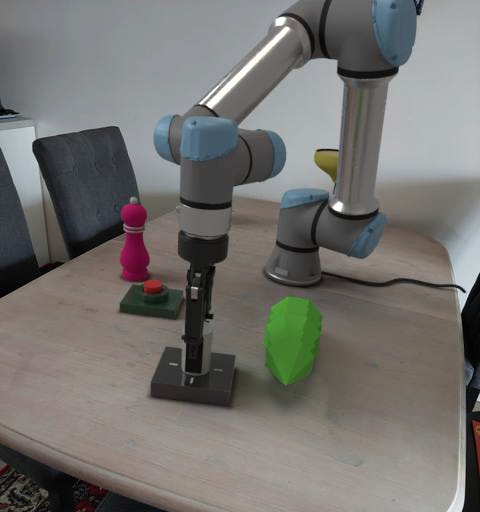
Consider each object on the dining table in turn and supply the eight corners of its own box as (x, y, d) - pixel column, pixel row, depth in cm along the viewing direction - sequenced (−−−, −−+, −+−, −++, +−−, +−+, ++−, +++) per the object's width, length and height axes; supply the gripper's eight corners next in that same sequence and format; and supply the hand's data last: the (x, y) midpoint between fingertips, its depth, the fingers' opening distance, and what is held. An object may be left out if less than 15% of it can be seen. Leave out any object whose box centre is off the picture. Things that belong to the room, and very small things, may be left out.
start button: (163, 288, 105) (163, 281, 105) (159, 295, 102) (159, 288, 101) (146, 286, 106) (146, 279, 105) (141, 293, 102) (141, 286, 101)
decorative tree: (317, 278, 97) (312, 349, 70) (328, 327, 101) (328, 411, 74) (264, 289, 100) (240, 361, 73) (277, 336, 104) (259, 420, 77)
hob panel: (234, 368, 87) (236, 354, 85) (228, 406, 77) (229, 391, 76) (165, 359, 87) (165, 345, 86) (150, 396, 78) (150, 380, 76)
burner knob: (183, 357, 83) (185, 316, 79) (211, 361, 83) (215, 320, 79) (178, 374, 79) (180, 331, 75) (208, 377, 79) (211, 335, 75)
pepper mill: (143, 284, 114) (142, 203, 105) (115, 279, 115) (112, 198, 106) (153, 273, 121) (154, 195, 111) (127, 268, 122) (125, 191, 112)
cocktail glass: (304, 213, 183) (315, 146, 171) (350, 219, 181) (365, 152, 169) (303, 227, 167) (315, 154, 155) (354, 234, 166) (370, 161, 153)
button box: (183, 298, 110) (183, 283, 108) (174, 319, 101) (175, 302, 99) (132, 292, 110) (132, 277, 108) (119, 312, 101) (119, 295, 99)
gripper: (189, 211, 77) (184, 332, 88) (165, 249, 61) (162, 391, 72) (234, 216, 77) (223, 337, 88) (221, 256, 61) (210, 397, 72)
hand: (196, 361), depth 80 cm, fingers closed on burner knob, 5 cm apart
